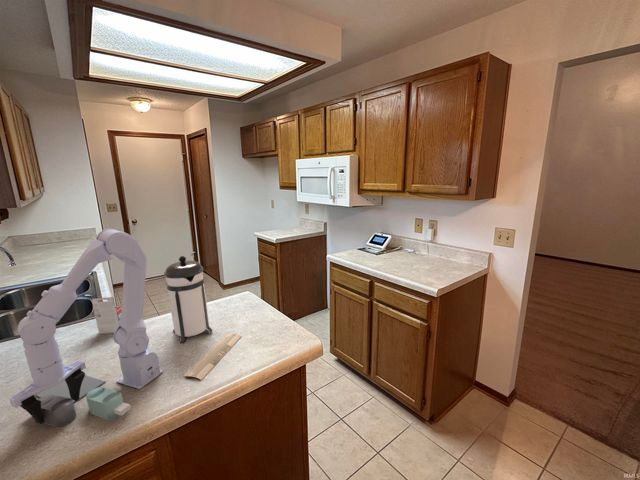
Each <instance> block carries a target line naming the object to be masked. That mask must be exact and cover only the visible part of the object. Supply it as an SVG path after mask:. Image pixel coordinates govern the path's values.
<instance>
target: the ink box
mask: <svg viewBox="0 0 640 480" xmlns="http://www.w3.org/2000/svg"><path fill="white" fill-rule="evenodd" d="M102 300H103V301H102ZM91 302H92V306H93V313H94V318H95V321H96V326H97V330H98V334H99V335H105V334H107V335H108V334H114V332H115V331H116V329H117V327H118V321H119V320H120V319H121V316H122V305H115V299H114V297H113V296H112V297H97V298H91Z"/></svg>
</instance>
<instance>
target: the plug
mask: <svg viewBox="0 0 640 480" xmlns="http://www.w3.org/2000/svg"><path fill="white" fill-rule="evenodd" d="M36 399H37V400H40V401H41V411H42V414H43V417H44V423H43V424H44V425H48V426H53V427H59V428H62V427H65V426H68V425H69V424H71V423H73V421H74V420H76V418H77V412H76V409H75V403H73V400H72V399H70V398H65V397H60V396H55V395H46V396H43V397H41V398H39V397H38V398H36Z"/></svg>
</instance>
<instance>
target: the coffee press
mask: <svg viewBox="0 0 640 480" xmlns="http://www.w3.org/2000/svg"><path fill="white" fill-rule="evenodd" d="M163 276H164V278H165V280H166V283H165V286H166V290H167V293H168V300H169V305H170V312H171V313H170V314H171V318H172V323H173V330H172V333H173V334H175V335H177V336H179V337H180V339H179V343H180V344H185V343H186V341H187V339H188V337H194V336H197V335H200V334H202V333H203V332H205V333H206V334H207V335H211V334H212V333H213V328H211V327H210V321H209V313H208V304H207V297H206V296H207V295H206V289H205V276H204V266H202V265H201V263H200V262H199V261H196V260H187V258H186V257H185V255H181V256H179V257H178V261H177V262H174V263H171V264H170V265H168V266H167V267H166V268H165V270H164V272H163Z"/></svg>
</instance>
